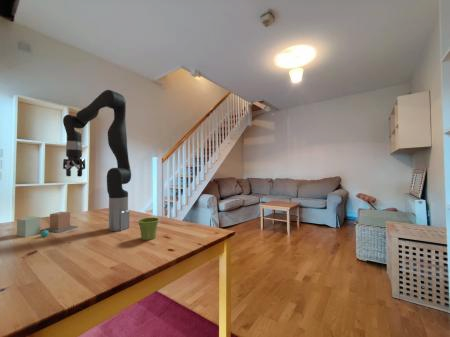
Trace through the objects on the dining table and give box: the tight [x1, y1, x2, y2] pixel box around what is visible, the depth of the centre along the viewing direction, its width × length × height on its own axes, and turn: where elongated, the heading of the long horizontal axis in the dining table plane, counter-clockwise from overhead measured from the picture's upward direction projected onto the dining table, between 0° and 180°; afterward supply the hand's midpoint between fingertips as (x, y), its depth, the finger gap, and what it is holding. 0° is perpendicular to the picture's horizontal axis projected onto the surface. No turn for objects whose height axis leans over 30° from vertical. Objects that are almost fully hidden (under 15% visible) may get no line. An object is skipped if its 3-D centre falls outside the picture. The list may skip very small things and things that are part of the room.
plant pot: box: [137, 217, 160, 241], centre depth 94 cm, size 9×9×9 cm
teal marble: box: [40, 230, 50, 238], centre depth 95 cm, size 3×3×3 cm
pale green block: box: [16, 216, 41, 238], centre depth 98 cm, size 6×6×8 cm
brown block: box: [49, 211, 71, 230], centre depth 107 cm, size 6×6×8 cm
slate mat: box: [40, 224, 78, 234], centre depth 107 cm, size 12×10×1 cm
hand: (74, 176), depth 118 cm, fingers open, 8 cm apart
